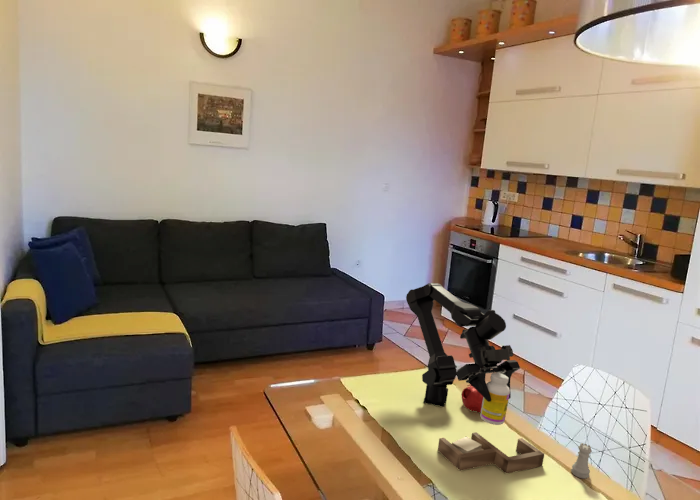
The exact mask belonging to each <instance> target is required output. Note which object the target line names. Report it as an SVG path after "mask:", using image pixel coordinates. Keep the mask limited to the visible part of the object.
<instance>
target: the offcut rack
mask: <svg viewBox="0 0 700 500" xmlns="http://www.w3.org/2000/svg"><path fill="white" fill-rule="evenodd" d="M470 439H472V440H474V441H476V442H477V443H479V444H481V445H482V447H481V448H482V449H484V450H481V451H475V452H470V453H464V454H463V453H462V452H460V451H459V450H458V449H457V448H456V447H455V446H453V445H452V442H450V441H449V440H447V439H446V438H445V437H439V439H438V444H437V445H438V447H437V451H438V453H439V454H441V455H442V456H443V457H444V458H446V460H448V462H450V463H451V464H452V465H453V466H454V467H455V468H456V469H457V470H459V471H466V470H470V469H476V468H479V467H480V468H481V467H485V466H491V465H494V466H495V467H497V468H498V469H499V470H501V471H502V472H503V473H504V474H505V475H507V474H512V473H517V472H522V471H526V470H531V469H534V468H535V469H536V468H540V467H543V464H544V463H543V462H544V460H545V459H544V458H545V453H544V452H543V451H542V450H540V449H538V447H536V446H534V445H533V444H531V443H530V442H528V441H526V440H525V439H524V438H523V437H522V438H518V439H517V443H516V449H515V452H517V453H518V454H517V455H511V456H508V455H507V454H506V453H504V452H503V451H502V450H501V449H499V448H498V447H496V445H494V444H492V443H491V442H490V441H489V440H487V439H486V438H485V437H483V436H482V435H480V434H479V433H478V432H472V433H471V437H470Z"/></svg>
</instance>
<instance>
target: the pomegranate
mask: <svg viewBox="0 0 700 500" xmlns="http://www.w3.org/2000/svg"><path fill="white" fill-rule="evenodd" d="M466 386H467V387H465V388H464V389H463V390H462V392H461V400H462V404H463V407H464V408H466V409H467V410H469V411H470V410H471V411H470V412H473V411H477V412H476V413H478V412H481V408H482V402H483V396H482V395H481V394H480V393H479V392H478V391H477V390H476V389H475V388H474V387H473V386H472V385H471V384H468V385H466Z"/></svg>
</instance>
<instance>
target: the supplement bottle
mask: <svg viewBox="0 0 700 500" xmlns="http://www.w3.org/2000/svg"><path fill="white" fill-rule="evenodd" d="M508 379H509V378H508V377H507V376H506V375H503V374H500V373H490V381H488V382H486V384H487V387H488V390H489V393H490V396H491V401H490V402H488V401H487V400H486V399H485V398H484V397H483V402H482V408H481V413H479V414H480V415H479V416H480V418H481V420H482V421H484V422H485V423H487V424H491V425H493V426H494V425H495V426H501V425H503V424H504V423H505V421H506V415H507V410H508V406H509V405H508V404H509V400H510V399H509V394H510V392H511V388H510V389H509V387H508V386H507V383H508Z"/></svg>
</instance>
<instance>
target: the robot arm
mask: <svg viewBox="0 0 700 500" xmlns="http://www.w3.org/2000/svg"><path fill="white" fill-rule="evenodd" d="M405 298H406V302H407V305H408V307H409V309H410V311H411V312H412V313H413V314H414V315H416V317H417V320H418V323H419V326H420V330H421V334H422V336H423V340H424V343H425V346H426V349H427V353H428V356H429V357H428V358H429V359H428V362H427V370H426V371H425V372H424V373H422V374H421V375H422V376H421V377H422V378H421V379H422V382H423V383H424V384H426V388H425V395H424V398H423V403H424V404H428V405H433V406H436V407H437V406H438V407H442V408H444V407H445V404H447V399H448V395H449V394H448V393H449V388H448V386H451V385H453V383H454V382H455V380H456V378H457V380H458V382H460V381H465V383H467V384H468V385H470V384H471V385H472V386H473V387H474V388H475V389H476V390H477V391H478V392H479V393H480V394H481V395H482V396H483V397H484V398H485V399H486V400H487V401H488V402H490V401H491V396H490V393H489V390H488V387H487V382H486V376H487V375H486V374H492V373H500V374H503V375H506V376H507V377H508V378H509V379H508V383H507V386H508V387H509V389H510V390H511V377H512V375H513V374H515V372H517V371H518V370H521V367H520V364H519V362H518V361H517V360H515V359H511V357H513V356H514V351H513V348H512V347H511V345H510V344H508V345H502V346H501V348H500V349H499V348H498V349H497V348H496V347H495V346H494V345H490V343H489V341H491V340H493V339H494V338H495V337H497V336H498V335H500V334H501V333H502V332H504V331H505V330H506V328H507V323H506V321H505V319H504V318H503V317H502V316H501V315H500V314H498V313H497V312H496V311H495V310H494V309H489V310H487V311H486V312H485V313H483V312H482V311H481V309H480V308H479V307H477V306H475V305H474V304H471V303H467V302H463V301H462V300H460V299H459V298H457V296H455V295H453V294H452V293H451V292H450V291H448V290H447V289H445V287H443V285H442V284H441V283H437V282H436V283H435V282H434V283H427V284H425V285H423V286H420V287H416V288H414V289H409V291H408V293H407V294H406V295H405ZM434 302H436V303H438V304H439V305H440V306H442V307H443V308H444V309H445V310H447V311H448V312H449V313H450V316H451V317H450V318H451V319H452V321H453V322H454V323H455V325H457V326H458V327H460V328H461V327H468V328H466V329H465V328H464V329H462V332H461V334H460V335H459V338H460V340H463V339H464V340H466V343H467V346H468V348H469V351H470V353H469V354H468V357H469V359H471V358H472V359H473V362H474V363H466V364H464V365H463V366H461V367H460V368H459V369H457V367H458V366H457V365H456V363H455V358H454V357H453V355H451V354H450V355H448V354H447V353H446V351H445V350H444V347H443V343H442V341H441V336H440V333H439V331H438V328H437V325H436V322H435V319H434V315H433V313H432V311H433V307H434V305H435V303H434ZM511 398H512V396H511V391H510V394H509V400H510V399H511Z"/></svg>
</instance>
